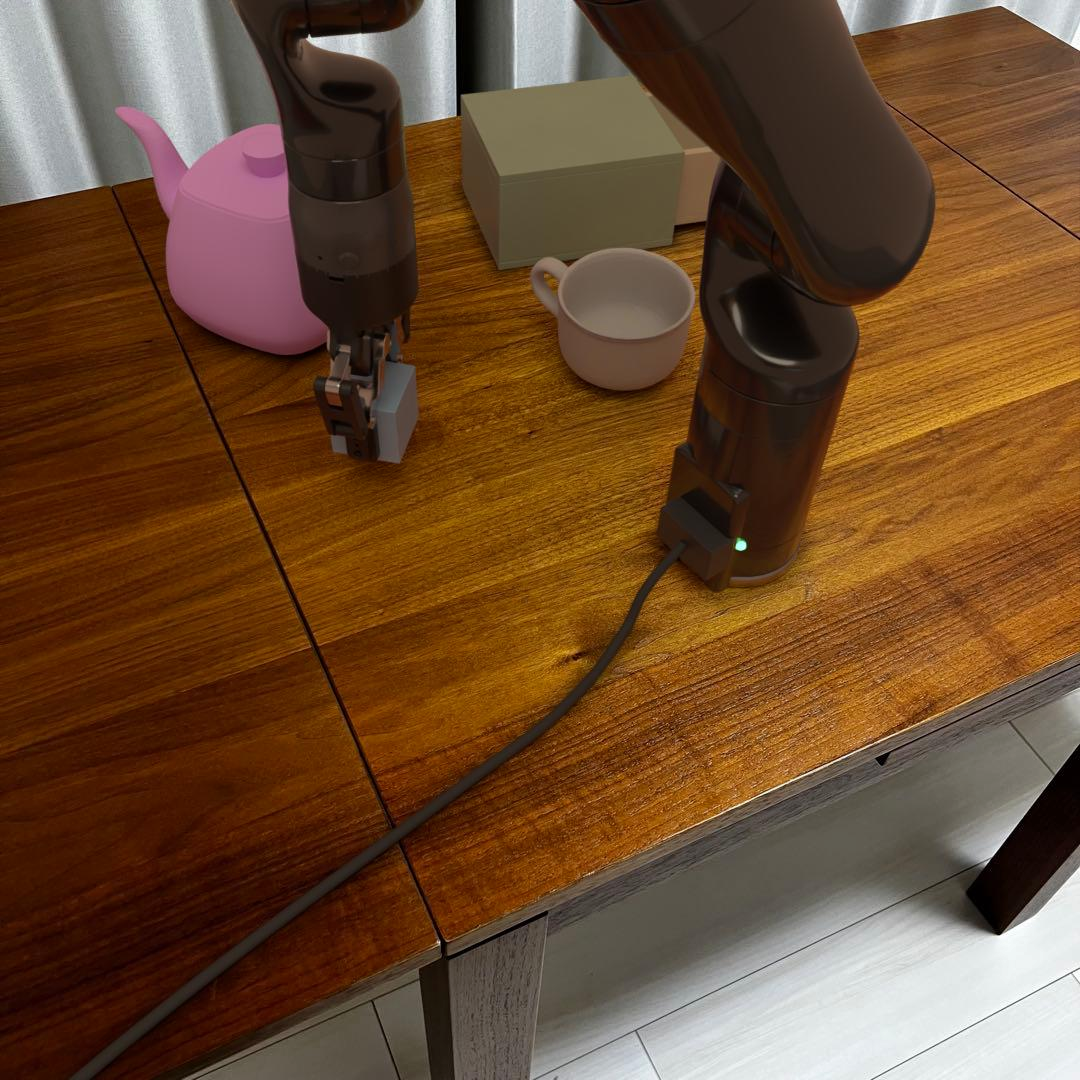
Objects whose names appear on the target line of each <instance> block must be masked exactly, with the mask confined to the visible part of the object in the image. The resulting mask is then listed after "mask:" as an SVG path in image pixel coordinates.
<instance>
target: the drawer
mask: <svg viewBox="0 0 1080 1080" xmlns="http://www.w3.org/2000/svg"><path fill="white" fill-rule="evenodd" d="M644 92H645V93H646V95H647V96H648V98H649V99H650V101H651V102H652V104H653V105H654V107H655V108H656V110H657V111H658V112H659V114H660V115H661V117H662V118H663V120H664V121H665V123H666V124H667V126H668V127H669V129H670V130H671V132H672V133H673V135H674V136H675V138H676V139H677V141H678V142H679V144H680V145H681V147H682V148H683V150H684V151H685V156H684V162H683V169H682V176H681V183H680V190H679V197H678V204H677V211H676V218H675V225H674V226H680V225H686V224H694V223H701V222H706V219H707V211H708V204H709V198H710V193H711V188H712V183H713V179H714V176H715V172H716V169H717V166H718V163H719V160H720V157H719V156H718V155H716V154H715V153H714V152H713V151H712V150H711V149H710V148H709V147H707V146H706V145H705V144H704V143H703V142H702V141H701V140H700V139H698V138H697V137H696V136H695V135H694V134H693V133H692V132H691V131H689V130H688V129H687V128H686V127H685V126H684V125H683V124H682V123H681V122H680V121H678V120H677V119H676V118H675V117H674V116H673V115H672V114H671V113H670V112H669V111H668V110H667V109H666V108H665V107H664V106H663V105H662V104H661V103H660V102H659V101H658V100H657V99H656V98H654V97H653V96H652V94H651V93H650V92H649V91H644Z"/></svg>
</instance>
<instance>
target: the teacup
mask: <svg viewBox="0 0 1080 1080" xmlns="http://www.w3.org/2000/svg"><path fill="white" fill-rule="evenodd" d="M545 273H547V274H549V275H551V276H552V277H554V278H555V280H556V281H557V283H558V284H557V285H558V286H557V293H555V292H554V291H553V290H552V289H551V287H550V286H549V284H548V282H547V280H546V278H545ZM529 285H530V288H531V289H532V292H533V294H534V296H535V297H536V299H537V300H538V302H539V303H541V304H542V306H544V308H545V309H546V310H547V311H548V312H550V313H551V314H552V315H553V316H554V318H556V320H557V337H558V344H559V349H560V352H561V356H562V357H563V359H564V361H565V363H566V364H567V366H568V367H569V368H570V369H571V370H572V372H574V373H575V374H576V375H577V376H578V377H580V378H581V379H582V380H584V381H585V382H588V383H589V384H591V385H594V386H596V387H598V388H601V389H607V390H610V391H611V390H612V391H635V390H636V391H637V390H641V389H645V388H647V387H650V386H653V385H656V384H658V383H659V382H661V381H662V380H664V379H666V378H667V377H668V376H670V374H671V373H672V372H673V371H674V369H676V368H677V366H678V364H679V363H680V361H681V359H682V357H683V355H684V351H685V349H686V344H687V341H688V336H689V331H690V326H691V320H692V314H693V311H694V309H695V306H696V290H695V287H694V284H693V282H692V280H691V278H690V277H689V275H688V274H687V272H686V271H684V269H682V267H681V266H680V265H678V264H677V263H676V262H674V261H673V260H671V259H669V258H667V257H666V256H663V255H662V254H659V253H656V252H653V251H648V250H646V249H634V248H611V249H605V250H601V251H597V252H593V253H591V254H588V255H586V256H584V257H583V258H580V259H577V260H576V261H574V262H573V263H572V264H571V265H569V266H568V265H566V263H564V261H560V260H558V259H556V258H552V257H547V258H543V259H541V260H539V261H538V262H537V263H536V264H535V265H533V267H532V268H531V271H530V274H529Z"/></svg>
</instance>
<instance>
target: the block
mask: <svg viewBox="0 0 1080 1080" xmlns="http://www.w3.org/2000/svg"><path fill="white" fill-rule="evenodd" d="M350 378H352V379H358V380H364V381H370V382H372V375H371V376H368V377H363V376H357V375H350ZM360 399H361V403H362V407H363V409H365V400H364V399H363V398H362V397H360ZM418 403H419V402H418V387H417V373H416V365H412V364H408V363H402V364H401V363H395V362H389V361H385V386H384V391H383V392H382V393H381V394H380V396H379V397H378V398H377V411H376V417H377V429H378V438H379V447H380V455H379V457H378V460H377V461H382V462H387V463H393V464H398V465H399V464H401V461H402V459H403V457H404V455H405V452H406V449H407V447H408V444H409V442H410V439H411V437H412V434H413V432H414V430H415V427H416V425H417V422H418V420H419V418H420V415H419V414H420V413H419V404H418ZM329 436H330V441H331V449H332V452H333V453H336V454H341V455H347V456H348V454H347V447H346V440H345V437H343V436H338V435H336V436H334V435H329Z"/></svg>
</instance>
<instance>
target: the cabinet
mask: <svg viewBox="0 0 1080 1080" xmlns="http://www.w3.org/2000/svg"><path fill="white" fill-rule="evenodd" d="M645 92H646V91H645V90H644V89H643V86H642V85H641V83H640V82H639V81H638V80H637V79H636V78H635V77H634V76H633V75H632V74H631V75H624V76H623V75H622V76H613V77H605V78H604V77H603V78H598V79H597V78H596V79H587V80H579V81H571V82H570V81H569V82H562V83H552V84H544V85H536V86H534V85H533V86H527V87H526V86H525V87H517V88H508V89H500V90H492V91H483V92H482V91H481V92H475V93H464V94H461V95H460V120H461V121H460V126H461V127H460V128H461V129H460V130H461V132H460V133H461V134H460V135H461V181H462V182H461V188H462V190H463V192H464V195H465V197H466V199H467V202H468V204H469V206H470V208H471V211H472V213H473V216H474V217H475V220H476V222H477V224H478V226H479V229H480V231H481V233H482V236H483V238H484V240H485V242H486V245H487V247H488V250H489V251H490V254H491V256H492V258H493V261H494V263H495V265H496V267H497V270H498V271H503V270H504V271H505V270H511V269H518V268H524V267H532V266H534V265H535V264H536V263H537V262H538V261H539V260H541V259H543V258H547V257H552V258H556V259H558V260H560V261H561V262H566V261H572V260H579V259H581V258H583V257H584V256H586V255H588V254H591V253H593V252H597V251H601V250H605V249H611V248H634V249H641V250H647V249H654V248H661V247H669V246H672V244H673V238H674V233H675V226H676V225H675V218H676V211H677V204H678V197H679V190H680V183H681V176H682V169H683V162H684V156H685V151H684V150H683V148H682V147H681V145H680V144H679V142H678V141H677V139H676V138H675V136H674V135H673V133H672V132H671V130H670V129H669V127H668V126H667V124H666V123H665V121H664V120H663V118H662V117H661V115H660V114H659V112H658V111H657V110H656V108H655V107H654V105H653V104H652V102H651V101H650V99H649V98H648V96H647V95H646V93H645Z"/></svg>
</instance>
